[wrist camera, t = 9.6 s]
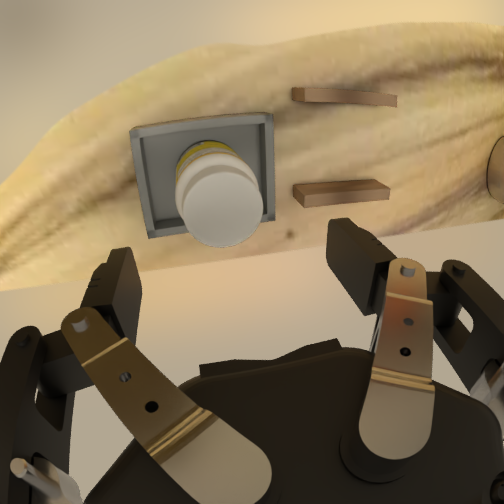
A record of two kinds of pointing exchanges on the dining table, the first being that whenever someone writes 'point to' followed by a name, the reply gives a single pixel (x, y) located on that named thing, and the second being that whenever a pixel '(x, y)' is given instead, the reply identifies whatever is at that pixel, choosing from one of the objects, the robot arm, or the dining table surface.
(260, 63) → the dining table surface
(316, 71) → the dining table surface
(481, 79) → the dining table surface
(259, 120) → the tray
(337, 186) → the slot rails
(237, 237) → the supplement bottle
